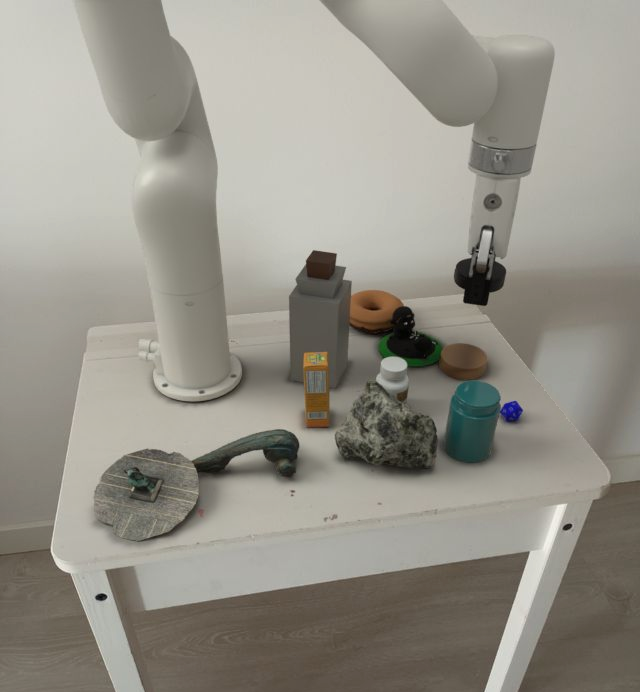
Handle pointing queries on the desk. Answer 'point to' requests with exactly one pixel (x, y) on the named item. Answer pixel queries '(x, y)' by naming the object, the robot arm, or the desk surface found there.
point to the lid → (464, 269)
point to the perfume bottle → (320, 315)
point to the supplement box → (316, 389)
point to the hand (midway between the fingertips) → (477, 289)
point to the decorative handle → (273, 443)
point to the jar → (472, 421)
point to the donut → (373, 310)
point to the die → (511, 411)
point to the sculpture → (146, 493)
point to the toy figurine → (409, 341)
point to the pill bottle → (394, 377)
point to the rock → (387, 431)
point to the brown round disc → (463, 361)
